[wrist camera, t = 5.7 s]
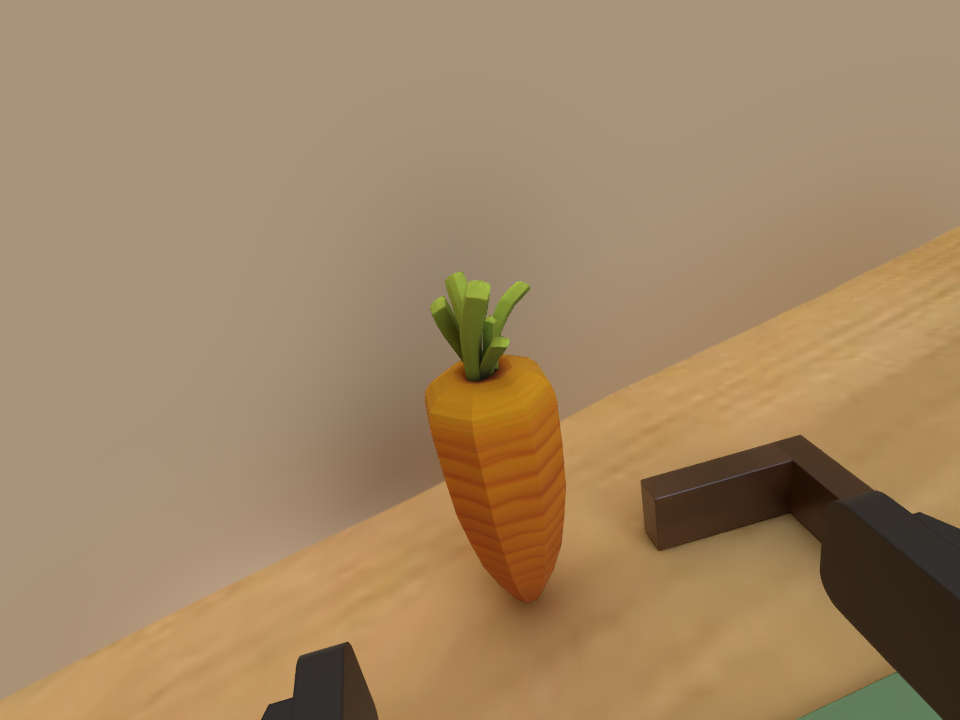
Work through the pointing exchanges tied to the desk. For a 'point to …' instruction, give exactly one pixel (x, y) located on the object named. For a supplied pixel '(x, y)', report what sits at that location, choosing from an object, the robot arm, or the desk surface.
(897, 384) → the desk surface
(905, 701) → the rag
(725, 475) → the corner stop
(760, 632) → the desk surface
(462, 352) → the carrot
